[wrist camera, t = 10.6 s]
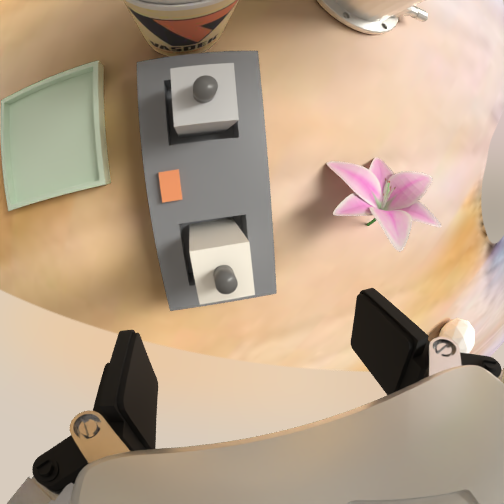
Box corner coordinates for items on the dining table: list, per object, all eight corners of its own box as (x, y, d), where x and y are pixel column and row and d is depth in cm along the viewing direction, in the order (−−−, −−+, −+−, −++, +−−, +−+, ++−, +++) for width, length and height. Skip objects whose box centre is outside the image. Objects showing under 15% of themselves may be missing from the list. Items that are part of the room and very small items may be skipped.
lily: (408, 178, 31) (447, 146, 21) (406, 270, 29) (453, 262, 20) (320, 158, 31) (339, 113, 22) (310, 255, 30) (331, 240, 20)
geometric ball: (429, 332, 44) (431, 366, 38) (449, 305, 39) (455, 341, 33) (457, 338, 42) (461, 370, 37) (478, 312, 37) (485, 347, 31)
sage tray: (103, 65, 19) (98, 60, 17) (111, 182, 23) (105, 184, 21) (9, 102, 17) (0, 100, 15) (17, 207, 21) (8, 211, 19)
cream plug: (232, 217, 26) (254, 249, 17) (236, 257, 27) (260, 305, 18) (189, 224, 25) (189, 259, 16) (196, 264, 27) (200, 316, 18)
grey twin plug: (220, 91, 22) (237, 54, 13) (224, 132, 23) (243, 116, 14) (176, 96, 21) (168, 60, 12) (179, 137, 23) (172, 123, 14)
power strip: (143, 74, 20) (135, 60, 16) (249, 63, 22) (259, 48, 18) (172, 293, 28) (170, 313, 24) (266, 278, 29) (278, 295, 26)
